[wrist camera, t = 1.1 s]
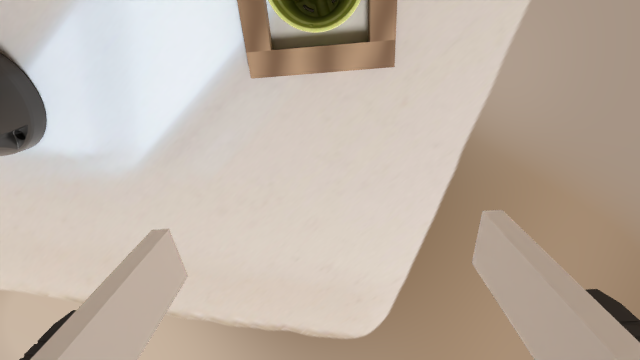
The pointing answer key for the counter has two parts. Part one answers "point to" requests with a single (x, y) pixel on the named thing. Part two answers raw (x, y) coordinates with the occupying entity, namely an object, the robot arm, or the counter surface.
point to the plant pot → (314, 13)
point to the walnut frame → (318, 57)
